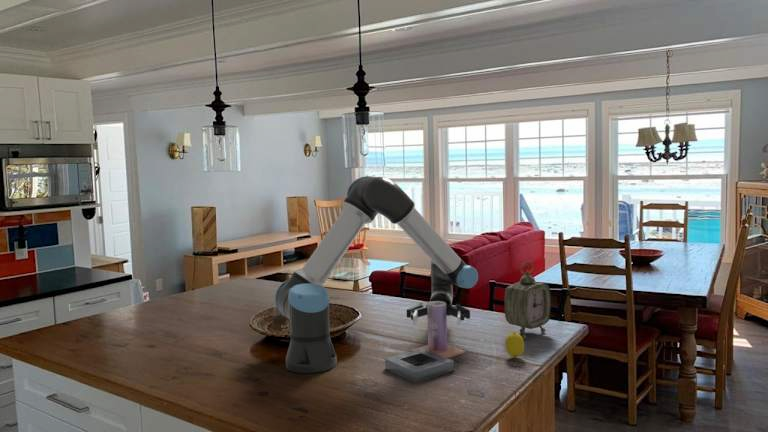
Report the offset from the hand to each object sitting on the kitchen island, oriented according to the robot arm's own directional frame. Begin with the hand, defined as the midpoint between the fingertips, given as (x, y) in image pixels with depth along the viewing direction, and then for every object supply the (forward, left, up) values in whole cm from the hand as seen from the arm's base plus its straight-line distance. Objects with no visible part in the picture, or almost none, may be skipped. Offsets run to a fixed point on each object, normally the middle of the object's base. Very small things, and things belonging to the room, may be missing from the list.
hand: (436, 320), depth 170 cm
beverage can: (+2, +2, -11) cm, 11 cm away
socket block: (-12, -6, -11) cm, 17 cm away
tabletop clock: (+37, -4, -11) cm, 39 cm away
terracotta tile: (+2, +2, -11) cm, 11 cm away
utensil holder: (-28, +52, -11) cm, 60 cm away
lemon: (+16, -17, -11) cm, 26 cm away
